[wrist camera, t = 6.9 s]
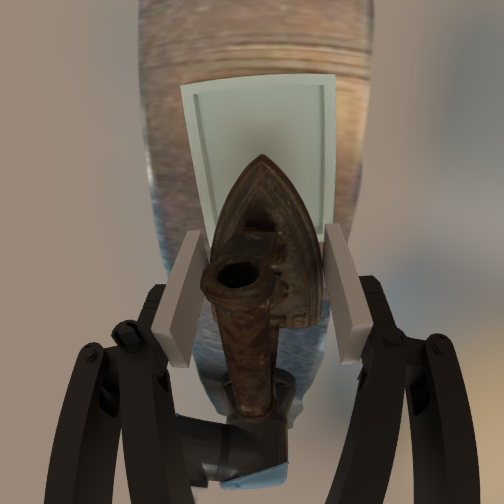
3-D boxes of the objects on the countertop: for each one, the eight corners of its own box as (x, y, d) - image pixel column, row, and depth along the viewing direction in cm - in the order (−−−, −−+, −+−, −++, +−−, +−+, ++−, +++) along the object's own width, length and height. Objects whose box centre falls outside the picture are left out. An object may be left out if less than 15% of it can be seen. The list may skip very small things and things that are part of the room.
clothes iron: (219, 317, 20) (170, 434, 11) (202, 153, 15) (88, 189, 6) (318, 322, 19) (321, 452, 10) (328, 150, 14) (376, 180, 5)
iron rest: (327, 228, 31) (331, 241, 29) (213, 234, 33) (209, 247, 31) (328, 73, 21) (334, 74, 19) (187, 83, 22) (180, 85, 20)
